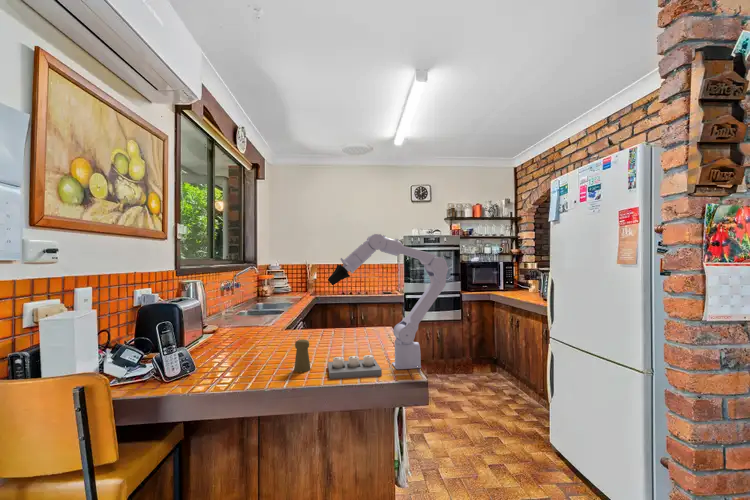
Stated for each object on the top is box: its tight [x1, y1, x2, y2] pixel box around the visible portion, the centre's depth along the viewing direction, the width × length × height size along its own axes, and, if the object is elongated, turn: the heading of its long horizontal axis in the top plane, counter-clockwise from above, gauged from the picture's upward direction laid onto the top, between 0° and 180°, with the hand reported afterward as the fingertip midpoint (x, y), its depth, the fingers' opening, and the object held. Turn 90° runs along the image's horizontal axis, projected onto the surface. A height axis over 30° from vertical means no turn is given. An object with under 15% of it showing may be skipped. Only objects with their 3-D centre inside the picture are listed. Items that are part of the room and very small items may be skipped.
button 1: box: [362, 354, 375, 366], centre depth 135 cm, size 4×4×3 cm
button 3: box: [332, 356, 345, 368], centre depth 133 cm, size 4×4×3 cm
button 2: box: [347, 355, 360, 367], centre depth 134 cm, size 4×4×3 cm
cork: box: [293, 338, 312, 373], centre depth 137 cm, size 6×6×11 cm
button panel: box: [327, 358, 383, 380], centre depth 134 cm, size 18×14×2 cm
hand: (329, 282), depth 136 cm, fingers open, 7 cm apart
